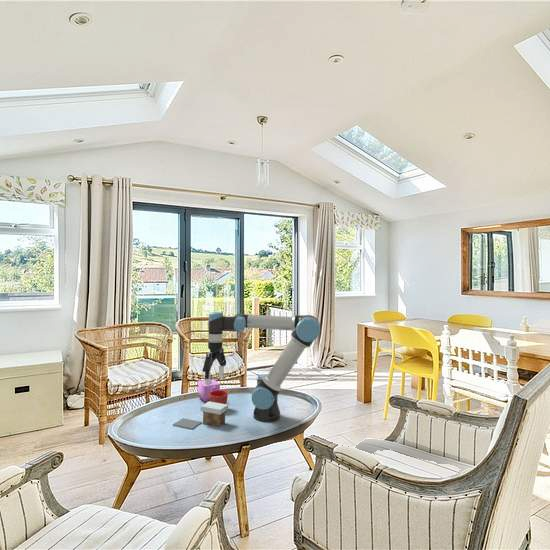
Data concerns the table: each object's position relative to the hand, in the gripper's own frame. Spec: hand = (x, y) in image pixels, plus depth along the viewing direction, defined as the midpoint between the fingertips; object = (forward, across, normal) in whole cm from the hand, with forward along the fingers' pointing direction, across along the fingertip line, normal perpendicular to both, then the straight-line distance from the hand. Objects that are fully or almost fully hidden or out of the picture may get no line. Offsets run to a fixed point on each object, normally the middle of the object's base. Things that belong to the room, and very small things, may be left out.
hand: (214, 381), depth 197 cm
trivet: (+22, +7, -12) cm, 26 cm away
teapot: (+23, -29, -21) cm, 42 cm away
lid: (+15, 0, 0) cm, 15 cm away
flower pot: (+23, -18, -8) cm, 30 cm away
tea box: (+22, 0, 0) cm, 22 cm away
